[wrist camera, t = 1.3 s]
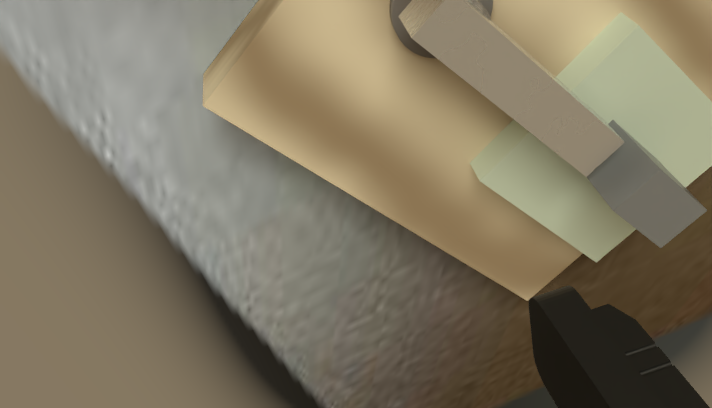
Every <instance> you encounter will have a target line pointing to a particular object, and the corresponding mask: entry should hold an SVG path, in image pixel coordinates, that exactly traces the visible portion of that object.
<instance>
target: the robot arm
mask: <svg viewBox="0 0 712 408" xmlns="http://www.w3.org/2000/svg"><path fill="white" fill-rule="evenodd" d="M529 313H530V324H531V334H532V345H533V354H534V359H535V363H536V366H537V369H538V372H539V375H540V377H541V379H542V381H543V383H544V385H545V387H546V388H547V390H548V392H549V394H550V395H551V397H552V399H553V400H554V402H555V404H556V405H557V407H558V408H709V406H708V405H707V404H706V403H705V402H704V400H703V399H702V398H701V397H700V396H699V394H698V393H697V392H696V391H695V390H694V388H693V387H692V386H691V385H690V384H689V382H688V381H687V380H686V379H685V378H684V377H683V375H682V374H681V373H680V372H679V371H678V369H677V368H676V367H675V366H672V364H671V362H670V360H669V359H668V357H667V356H666V355H665V354H664V353H663V352H662V350H661V349H660V348H659V347H656V345H655V342H654V341H653V340H652V338H651V337H650V336H649V335H648V334H647V333H646V331H645V330H644V329H643V328H642V327H641V325H640V324H639V323H638V322H637V321H636V320H635V319H633V318H632V317H630V316H628V315H627V314H625V313H623V312H621V311H620V310H618V309H616V308H615V307H613V306H611V305H609V304H607V305H604V306H601V307H598V308H595V309H592V310H591V309H590V308H589V306H588V305H587V304H586V302H585V301H584V300H583V299H582V297H581V296H580V295H579V293H578V292H577V291H576V290H575V289H574V288H573V287H571V286H565V287H562V288H559V289H556V290H553V291H550V292H547V293H544V294H541V295H538V296H535V297H532V298H530V299H529Z"/></svg>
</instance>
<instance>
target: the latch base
mask: <svg viewBox="0 0 712 408" xmlns="http://www.w3.org/2000/svg"><path fill="white" fill-rule="evenodd" d="M411 1H412V0H258V2H257V3H256V4H255V6H254V7H253V8H252V10H251V11H250V12H249V14H248V15H247V16H246V18H245V19H244V20H243V22H242V23H241V25H240V26H239V27H238V29H237V30H236V31H235V33H234V34H233V35H232V37H231V38H230V39H229V41H228V42H227V43H226V45H225V46H224V47H223V49H222V50H221V51H220V53H219V54H218V55H217V57H216V58H215V59H214V61H213V62H212V63H211V65H210V66H209V67H208V69H207V70H206V71H205V73H204V77H203V106H204V107H205V108H207V109H209V110H210V111H212V112H214V113H215V114H217V115H219V116H220V117H222V118H224V119H225V120H227V121H229V122H230V123H232V124H234V125H235V126H237V127H239V128H240V129H242V130H244V131H245V132H247V133H249V134H250V135H252V136H254V137H255V138H257V139H259V140H260V141H262V142H264V143H265V144H267V145H269V146H270V147H272V148H274V149H275V150H277V151H279V152H280V153H282V154H284V155H285V156H287V157H289V158H290V159H292V160H294V161H295V162H297V163H299V164H300V165H302V166H304V167H305V168H307V169H309V170H310V171H312V172H314V173H315V174H317V175H319V176H320V177H322V178H324V179H325V180H327V181H329V182H330V183H332V184H334V185H335V186H337V187H339V188H340V189H342V190H344V191H345V192H347V193H349V194H350V195H352V196H354V197H355V198H357V199H359V200H360V201H362V202H364V203H365V204H367V205H369V206H370V207H372V208H374V209H375V210H377V211H379V212H380V213H382V214H384V215H385V216H387V217H389V218H390V219H392V220H394V221H395V222H397V223H399V224H400V225H402V226H403V227H405V228H407V229H408V230H410V231H412V232H413V233H415V234H417V235H418V236H420V237H422V238H423V239H425V240H427V241H428V242H430V243H432V244H433V245H435V246H437V247H438V248H440V249H442V250H443V251H445V252H447V253H448V254H450V255H452V256H453V257H455V258H457V259H458V260H460V261H462V262H463V263H465V264H467V265H468V266H470V267H472V268H473V269H475V270H477V271H478V272H480V273H482V274H483V275H485V276H487V277H488V278H490V279H492V280H493V281H495V282H497V283H498V284H500V285H502V286H503V287H505V288H507V289H508V290H510V291H512V292H513V293H515V294H517V295H518V296H520V297H522V298H523V299H525V300H527V301H528V300H529V299H530V298H531V297H533V296H534V295H535V294H536V293H537V292H538V291H540V290H541V289H542V288H543V287H544V286H545V285H547V284H548V283H549V282H550V281H551V280H552V279H554V278H555V277H556V276H557V275H558V274H559V273H561V272H562V271H563V270H564V269H565V268H566V267H568V266H569V265H570V264H571V263H572V262H573V261H575V260H576V259H577V258H578V257H579V256H580V255H582V254H583V253H582V252H580V251H579V250H578V249H576V248H575V247H573V246H572V245H570V244H569V243H568V242H566V241H565V240H563V239H562V238H560V237H559V236H558V235H556V234H555V233H553V232H552V231H550V230H549V229H548V228H546V227H545V226H543V225H542V224H540V223H539V222H538V221H536V220H535V219H533V218H532V217H530V216H529V215H528V214H526V213H525V212H523V211H522V210H520V209H519V208H518V207H516V206H515V205H513V204H512V203H510V202H509V201H507V200H506V199H505V198H503V197H502V196H500V195H499V194H497V193H496V192H495V191H493V190H492V189H490V188H489V187H487V186H486V185H485V184H483V183H482V182H480V181H479V179H478V177H477V175H476V173H475V172H474V170H473V168H472V166H471V165H470V162H471V161H472V160H473V159H474V158H475V157H476V156H477V155H478V154H479V153H480V152H481V151H482V150H483V149H484V148H485V147H486V146H487V145H488V144H489V143H490V142H491V141H492V140H493V139H494V138H495V137H496V136H497V135H498V134H499V133H500V132H501V131H502V130H503V129H504V128H505V127H506V126H507V125H508V124H509V123H510V122H511V121H512V120H513V118H511V117H510V116H509V115H508V114H506V113H505V112H504V111H503V110H501V109H500V108H499V107H497V106H496V105H495V104H494V103H492V102H491V101H490V100H489V99H487V98H486V97H485V96H484V95H482V94H481V93H480V92H479V91H477V90H476V89H475V88H474V87H472V86H471V85H470V84H469V83H467V82H466V81H465V80H464V79H462V78H461V77H460V76H458V75H457V74H456V73H455V72H453V71H452V70H451V69H450V68H448V67H447V66H446V65H445V64H443V63H442V62H441V61H440V60H438V59H437V58H436V57H435V56H433V55H432V54H431V53H430V52H428V51H427V50H426V49H425V48H423V47H422V46H421V45H419V44H418V43H417V42H416V41H414V40H413V39H412V38H411V37H410V35H409V33H408V32H407V30H406V28H405V26H404V25H403V23H402V21H401V20H400V18H399V15H400V14H401V13H402V11H403V10H404V9H405V8H406V7H407V6H408V4H409V3H410V2H411ZM478 1H479V2H480V3H481V4H482V5H483V6H484V7H485V8H486V10H487V11H488V13H489V15H490V18H491V20H492V21H493V22H494V23H495V24H496V25H498V26H499V27H500V28H501V29H502V30H503V31H504V32H506V33H507V34H508V35H509V36H510V37H511V38H512V39H513V40H515V41H516V42H517V43H518V44H519V45H520V46H521V47H522V48H524V49H525V50H526V51H527V52H528V53H529V54H530V55H532V56H533V57H534V58H535V59H536V60H537V61H538V62H539V63H541V64H542V65H543V66H544V67H545V68H546V69H547V70H548V71H550V72H551V73H552V74H553V75H554V76H555V77H556V76H557V75H558V74H559V73H560V72H561V71H562V70H563V69H564V68H565V67H566V66H567V65H568V64H569V63H570V62H571V61H572V60H573V59H574V58H575V57H576V56H577V55H578V54H579V53H580V52H581V51H582V50H583V49H584V48H585V47H586V46H587V45H588V44H589V43H590V42H591V41H592V40H593V39H594V38H595V37H596V36H597V35H598V34H599V33H600V32H601V31H602V30H603V29H604V28H605V27H606V26H607V25H608V24H609V23H610V22H611V21H612V20H613V19H614V18H615V17H616V16H617V15H618V14H619V13H620V12H622V13H623V14H624V15H626V16H627V17H628V18H630V19H631V20H632V21H634V22H635V23H636V24H638V25H639V26H640V27H641V28H642V29H643V30H644V31H645V32H646V33H647V35H648V36H649V37H650V38H651V39H652V40H653V41H654V42H655V43H656V44H657V45H658V46H659V47H660V48H661V49H662V50H663V51H664V52H665V53H666V54H667V55H668V57H669V58H670V59H671V60H672V61H673V62H674V63H675V64H676V65H677V66H678V67H679V68H680V69H681V70H682V71H683V72H684V73H685V74H686V75H687V76H688V77H689V78H690V80H691V81H692V82H693V83H694V84H695V85H696V86H697V87H698V88H699V89H700V90H701V91H702V92H703V93H704V94H705V95H706V96H707V97H708V98H709V99H710V100H711V102H712V0H478Z"/></svg>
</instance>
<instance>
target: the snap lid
mask: <svg viewBox="0 0 712 408" xmlns="http://www.w3.org/2000/svg"><path fill="white" fill-rule="evenodd" d="M556 78H558V79H559V80H560V81H561V82H562V83H563V84H564V85H565V86H567V87H568V88H569V89H570V90H571V91H572V92H573V93H575V94H576V95H577V96H578V97H579V98H580V99H581V100H582V101H584V102H585V103H586V104H587V105H588V106H589V107H590V108H591V109H593V110H594V111H595V112H596V113H597V114H598V115H599V116H601V117H602V118H603V119H604V120H605V122H606V123H607V124H608V125H609V126H610V127H611V128H612V129H613V130H614V131H615V132H616V133H617V134H618V135H619V136H620V137H621V139H622V140H623V141H624V142H625V143H623V144H622V145H621V146H620V147H619V148H618V149H617V150H616V151H615V152H614V153H612V154H611V155H610V156H609V157H608V158H607V159H606V160H605V161H604V162H603V163H601V164H600V165H599V166H598V167H597V168H596V169H595V170H594V171H593V172H592V173H590V174H589V175H588V176H587V177H586V176H584V175H583V174H582V173H581V172H579V171H578V170H577V169H576V168H574V167H573V166H572V165H570V164H569V163H568V162H567V161H565V160H564V159H563V158H562V157H560V156H559V155H558V154H557V153H555V152H554V151H553V150H552V149H550V148H549V147H548V146H547V145H545V144H544V143H543V142H542V141H540V140H539V139H538V138H537V137H535V136H534V135H533V134H531V133H530V132H529V131H528V130H526V129H525V128H524V127H523V126H521V125H520V124H519V123H518V122H516V121H515V120H514V119H513V120H512V121H511V122H510V123H509V124H508V125H507V126H506V127H505V128H504V129H503V130H502V131H501V132H500V133H499V134H498V135H497V136H496V137H495V138H494V139H493V140H492V141H491V142H490V143H489V144H488V145H487V146H486V147H485V148H484V149H483V150H482V151H481V152H480V153H479V154H478V155H477V156H476V157H475V158H474V159H473V160H472V161H471V162H470V165H471V166H472V168H473V170H474V172H475V173H476V175H477V177H478V179H479V181H480V182H482V183H483V184H485V185H486V186H487V187H489V188H490V189H492V190H493V191H495V192H496V193H497V194H499V195H500V196H502V197H503V198H505V199H506V200H507V201H509V202H510V203H512V204H513V205H515V206H516V207H518V208H519V209H520V210H522V211H523V212H525V213H526V214H528V215H529V216H530V217H532V218H533V219H535V220H536V221H538V222H539V223H540V224H542V225H543V226H545V227H546V228H548V229H549V230H550V231H552V232H553V233H555V234H556V235H558V236H559V237H560V238H562V239H563V240H565V241H566V242H568V243H569V244H570V245H572V246H573V247H575V248H576V249H578V250H579V251H580V252H582V253H583V254H585V255H586V256H588V257H589V258H590V259H592V260H593V261H595V262H596V263H597V262H598V261H599V260H600V259H601V258H602V257H604V256H605V255H606V254H607V253H608V252H610V251H611V250H612V249H613V248H614V247H615V246H617V245H618V244H619V243H620V242H621V241H623V240H624V239H625V238H626V237H627V236H629V235H630V234H631V233H632V232H633V231H634V230H636V229H637V230H638V231H639V232H641V233H642V234H643V235H645V236H646V237H647V238H648V239H650V240H651V241H652V242H654V243H655V244H656V245H657V246H659V247H660V248H662V247H663V246H664V245H665V244H667V243H668V242H669V241H670V240H671V239H673V238H674V237H675V236H676V235H678V234H679V233H680V232H681V231H683V230H684V229H685V228H686V227H687V226H689V225H690V224H691V223H692V222H694V221H695V220H696V219H697V218H698V217H700V216H701V215H702V214H703V213H705V212H706V211H707V210H706V209H705V208H704V207H703V205H702V204H701V203H700V202H699V201H698V200H697V199H696V198H695V197H694V196H693V195H692V194H691V193H690V192H689V191H688V190H687V189H686V187H687V186H688V185H689V184H690V183H691V182H693V181H694V180H695V179H696V178H697V177H699V176H700V175H701V174H702V173H703V172H705V171H706V170H707V169H708V168H709V167H710V166H712V102H711V100H710V99H709V98H708V97H707V96H706V95H705V94H704V93H703V92H702V91H701V90H700V89H699V88H698V87H697V86H696V85H695V84H694V83H693V82H692V81H691V80H690V78H689V77H688V76H687V75H686V74H685V73H684V72H683V71H682V70H681V69H680V68H679V67H678V66H677V65H676V64H675V63H674V62H673V61H672V60H671V59H670V58H669V57H668V55H667V54H666V53H665V52H664V51H663V50H662V49H661V48H660V47H659V46H658V45H657V44H656V43H655V42H654V41H653V40H652V39H651V38H650V37H649V36H648V35H647V33H646V32H645V31H644V30H643V29H642V28H641V27H640V26H639V25H638V24H636V23H635V22H634V21H632V20H631V19H630V18H628V17H627V16H626V15H624V14H623V13H622V12H620V13H619V14H618V15H617V16H616V17H615V18H614V19H613V20H612V21H611V22H610V23H609V24H608V25H607V26H606V27H605V28H604V29H603V30H602V31H601V32H600V33H599V34H598V35H597V36H596V37H595V38H594V39H593V40H592V41H591V42H590V43H589V44H588V45H587V46H586V47H585V48H584V49H583V50H582V51H581V52H580V53H579V54H578V55H577V56H576V57H575V58H574V59H573V60H572V61H571V62H570V63H569V64H568V65H567V66H566V67H565V68H564V69H563V70H562V71H561V72H560V73H559V74H558V75H557V76H556Z"/></svg>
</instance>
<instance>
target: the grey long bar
mask: <svg viewBox="0 0 712 408" xmlns="http://www.w3.org/2000/svg"><path fill="white" fill-rule="evenodd" d="M399 18H400V20H401V21H402V23H403V25H404V26H405V28H406V30H407V32H408V33H409V35H410V37H411V38H412V39H413V40H414V41H416V42H417V43H418V44H419V45H421V46H422V47H423V48H425V49H426V50H427V51H428V52H430V53H431V54H432V55H433V56H435V57H436V58H437V59H438V60H440V61H441V62H442V63H443V64H445V65H446V66H447V67H448V68H450V69H451V70H452V71H453V72H455V73H456V74H457V75H458V76H460V77H461V78H462V79H464V80H465V81H466V82H467V83H469V84H470V85H471V86H472V87H474V88H475V89H476V90H477V91H479V92H480V93H481V94H482V95H484V96H485V97H486V98H487V99H489V100H490V101H491V102H492V103H494V104H495V105H496V106H497V107H499V108H500V109H501V110H503V111H504V112H505V113H506V114H508V115H509V116H510V117H511V118H513V119H514V120H515V121H516V122H518V123H519V124H520V125H521V126H523V127H524V128H525V129H526V130H528V131H529V132H530V133H531V134H533V135H534V136H535V137H537V138H538V139H539V140H540V141H542V142H543V143H544V144H545V145H547V146H548V147H549V148H550V149H552V150H553V151H554V152H555V153H557V154H558V155H559V156H560V157H562V158H563V159H564V160H565V161H567V162H568V163H569V164H570V165H572V166H573V167H574V168H576V169H577V170H578V171H579V172H581V173H582V174H583V175H584V176H586V177H587V176H588V175H589V174H590V173H592V172H593V171H594V170H595V169H596V168H597V167H598V166H599V165H600V164H601V163H603V162H604V161H605V160H606V159H607V158H608V157H609V156H610V155H611V154H612V153H614V152H615V151H616V150H617V149H618V148H619V147H620V146H621V145H622V144H623V143H625V142H624V141H623V140H622V139H621V137H620V136H619V135H618V134H617V133H616V132H615V131H614V130H613V129H612V128H611V127H610V126H609V125H608V124H607V123H606V122H605V120H604V119H603V118H602V117H601V116H599V115H598V114H597V113H596V112H595V111H594V110H593V109H591V108H590V107H589V106H588V105H587V104H586V103H585V102H584V101H582V100H581V99H580V98H579V97H578V96H577V95H576V94H575V93H573V92H572V91H571V90H570V89H569V88H568V87H567V86H565V85H564V84H563V83H562V82H561V81H560V80H559V79H558V78H556V77H555V76H554V75H553V74H552V73H551V72H550V71H548V70H547V69H546V68H545V67H544V66H543V65H542V64H541V63H539V62H538V61H537V60H536V59H535V58H534V57H533V56H532V55H530V54H529V53H528V52H527V51H526V50H525V49H524V48H522V47H521V46H520V45H519V44H518V43H517V42H516V41H515V40H513V39H512V38H511V37H510V36H509V35H508V34H507V33H506V32H504V31H503V30H502V29H501V28H500V27H499V26H498V25H496V24H495V23H494V22H493V21H492V20H491V18H490V15H489V13H488V11H487V10H486V8H485V7H484V6H483V5H482V4H481V3H480V2H479V1H478V0H412V1H411V2H410V3H409V4H408V6H407V7H406V8H405V9H404V10H403V11H402V13H401V14H400V15H399Z"/></svg>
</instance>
